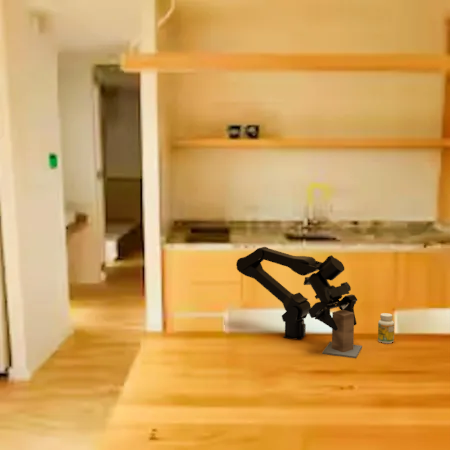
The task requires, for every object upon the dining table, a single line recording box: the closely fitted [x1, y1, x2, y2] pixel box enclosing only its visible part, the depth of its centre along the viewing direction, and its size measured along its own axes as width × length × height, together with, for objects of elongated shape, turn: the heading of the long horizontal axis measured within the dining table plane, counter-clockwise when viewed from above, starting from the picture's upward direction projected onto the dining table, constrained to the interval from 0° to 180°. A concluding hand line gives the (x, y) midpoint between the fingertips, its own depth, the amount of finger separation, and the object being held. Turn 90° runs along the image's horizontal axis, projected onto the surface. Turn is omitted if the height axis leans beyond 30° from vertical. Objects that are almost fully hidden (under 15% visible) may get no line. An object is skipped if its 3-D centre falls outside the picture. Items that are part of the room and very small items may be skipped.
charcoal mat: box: [322, 341, 363, 359], centre depth 197 cm, size 11×11×1 cm
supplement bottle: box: [377, 312, 395, 344], centre depth 205 cm, size 5×5×10 cm
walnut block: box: [331, 309, 355, 352], centre depth 196 cm, size 5×5×12 cm
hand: (346, 327), depth 195 cm, fingers open, 9 cm apart
